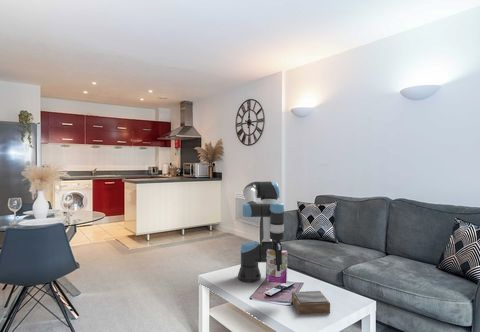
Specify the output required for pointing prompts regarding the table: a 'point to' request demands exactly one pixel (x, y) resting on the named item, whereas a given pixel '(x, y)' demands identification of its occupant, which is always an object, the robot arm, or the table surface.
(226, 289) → the table surface
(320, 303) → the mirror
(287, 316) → the table surface
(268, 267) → the candy bar box
